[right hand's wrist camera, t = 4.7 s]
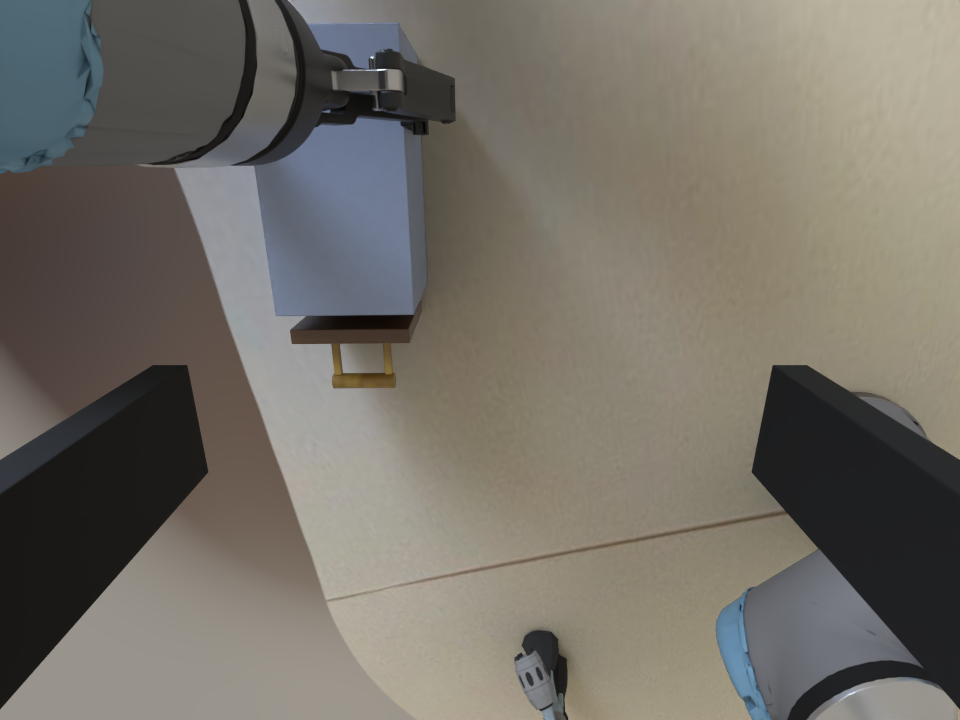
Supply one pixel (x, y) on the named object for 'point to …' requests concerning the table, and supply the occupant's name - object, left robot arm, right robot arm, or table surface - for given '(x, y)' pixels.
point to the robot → (543, 674)
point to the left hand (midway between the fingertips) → (341, 112)
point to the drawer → (358, 341)
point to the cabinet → (348, 204)
